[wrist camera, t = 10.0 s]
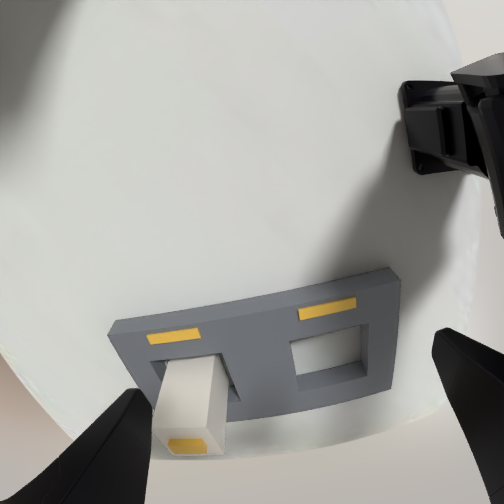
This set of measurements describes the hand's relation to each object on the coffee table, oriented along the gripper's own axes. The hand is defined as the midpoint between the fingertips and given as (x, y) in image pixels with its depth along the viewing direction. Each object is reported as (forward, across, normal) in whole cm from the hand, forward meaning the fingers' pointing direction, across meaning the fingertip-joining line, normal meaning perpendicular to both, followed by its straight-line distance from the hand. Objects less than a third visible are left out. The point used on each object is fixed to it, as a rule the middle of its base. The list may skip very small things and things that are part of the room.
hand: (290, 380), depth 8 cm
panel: (+13, +2, +11) cm, 17 cm away
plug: (+13, +8, +11) cm, 19 cm away
